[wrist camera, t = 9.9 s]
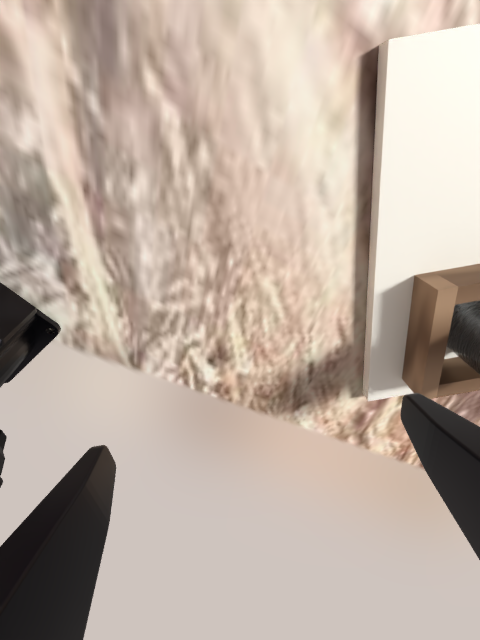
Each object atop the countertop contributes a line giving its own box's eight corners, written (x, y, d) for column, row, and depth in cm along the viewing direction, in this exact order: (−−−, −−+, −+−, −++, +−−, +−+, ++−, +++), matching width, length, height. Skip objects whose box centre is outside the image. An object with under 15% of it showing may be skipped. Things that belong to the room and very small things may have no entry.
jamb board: (525, 364, 27) (536, 371, 26) (362, 393, 27) (367, 401, 26) (656, -4, 16) (682, -12, 15) (378, 45, 16) (388, 39, 15)
